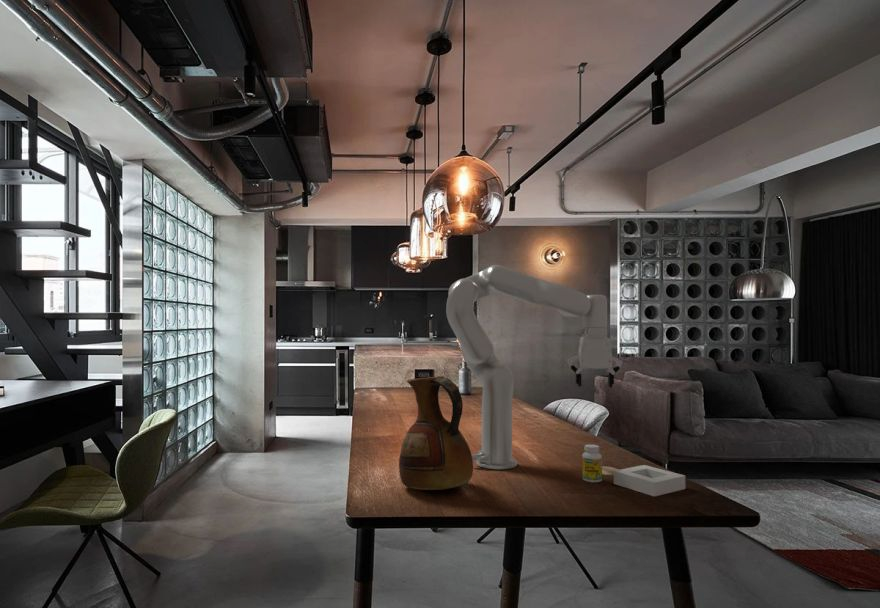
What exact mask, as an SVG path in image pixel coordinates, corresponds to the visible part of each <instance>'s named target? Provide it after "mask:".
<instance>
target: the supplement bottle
mask: <svg viewBox="0 0 880 608" xmlns="http://www.w3.org/2000/svg"><path fill="white" fill-rule="evenodd" d="M584 451H585V452H583V453H582V455H581V457H582V458H581V460H582V465H581V466H582V471H581V472H582V476H581V477H582V480H583V481H585V482H588V483H600V482H602V481H603V475H602V466H603V456H602V454H601V453H599V452H600V446H599V445H597V444H585V445H584Z"/></svg>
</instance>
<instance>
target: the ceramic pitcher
mask: <svg viewBox="0 0 880 608" xmlns="http://www.w3.org/2000/svg"><path fill="white" fill-rule="evenodd" d="M406 382H407V383H408V385H409V386H410V387H411V388H412V390H413V391H414V395H415V399H416V400H415V401H416V405H417V416H416V417H417V418H416V420H415V421H414V423H413V424H412V425H411V426H410V427H409V428H408V430H407V431H406V433H405V436H404V438H403V440H402V444H401V448H400V454H399V459H398V470H399V471H398V472H399V478H400V480H401V484H403V486H404V487H407V488H410V489H415V490H421V491H422V490H423V491H443V490H449V489H453V488H457V487H463V486H467V485H468V484H469V482H470V481H471V479H472V477H473V474H474V473H473V472H474V461H473V460H472V452H471V449H470V445H469V444H468V442H467V441H466V438H465V437H464V435H463V434H462V432H461V430H460V429H459V427H460V423H461V418H462V415H463V409H464V408H463V407H464V405H463V398H462V395H461V392H460V390H459V387H458V386H457V384H455V383H454V382H453V381H452V380H451V379H449V378H447V377H445V376H443V375H442V376H439V375H437V376H434V377H433V376H429V377H419V378H410V379H408V380H406ZM440 388H443V389H444V390H445V391H446V393H447V394H448V396H449V398H450V401H451V403H452V407H451V408H452V414H451V420H450V421H449V420H447V419H445V417H444V415H443V414H442V411H441V407H440V401H439V391H440Z"/></svg>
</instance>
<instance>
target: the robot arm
mask: <svg viewBox="0 0 880 608" xmlns="http://www.w3.org/2000/svg"><path fill="white" fill-rule="evenodd" d="M495 293H498V294H501V295H503V296H506V297H509V298H512V299H515V300H518V301H520V302H523V303H526V304H530V305H536V306H537V305H538V306H544V307H545V306H546V307H550V308H553V309H557V311H558V313H559V314H560V315H562V317H563V316H564V317H566V318H574V317H575V318H578V317H582V327H581V328H579V329H577V332H578V334H581V335H582V337H580V340H579V343H578V344H579V345H578V354H576V355H575V356H572V357H570V358H568V359H567V364H568V366H569V368H570V369H571V370H572V371H573V372H574V373H575V384H576V385H577V387H580V388H581V387H582V374H581V372H582V371H583V370H584V369H597V370H598V369H599V370H603V369H604V370H607V372H608V374H607V387H608V388H613V386H614V384H615V375H616V373H617V372H618V371H619V370H621V367H622V365H623V363H624V361H623V360H621V359H619V358H617V357H616V356H613V353H612V350H613V349H612V342H611V338H610V337H608V298H607V297H606V295H604V294H585V293H583V292H581V291H579V290H576V289H573V288H571V287H568V286H566V285H561V284H558V283H555V282H551V281H548V280H545V279H542V278H538V277H534V276H532V275H529V274H526V273H523V272H521V271H518V270H515V269H512V268H509V267H507V266H504V265H502V264H501V265H500V264H493V265H490V266H489V267H487V268H485V269H483V270H481V271H479V272H476V273H474V274H472V275H470V276H467V277H465V278H460V279H458V280H456V281H454V282H453V283H452V284H451V285H450V286H449V288H448V293H447V294H448V297H447V300H446V307H445V308H446V309H445V313H446V319H447V321H448V324H449V326H450V327H451V330H452V331H453V333H454V335H455V337H456V339H457V340H458V343H459V344H460V354H461V355H462V358H463V359H464V361H465V363H466V364H467V366H468V367H469V369H470V371H471V373H472V374H473V376H474V378H475V379H476V381H477V382H478V384H479V385H480V386H481V387H482V394H481V395H482V396H481V449H478V452H477V453H476V454H475V453H474V454H472V453H471V455H472V460H473V462H476V465H477V466H479V467H481V468H483V469H488V470H489V469H490V470H509V469H514V468H516V467H517V465H518V462H517V460H516V459H514V458H513V396H514V387H515V379H514V374H513V372H512V370H511V368H509V366H507V365H506V364H504V363H501V362H500V361H499V359H498V358H497V356H496V355H495V353H494V352H495V349H494V348H495V347H494V345H493V342H492V340H491V339H490V338H489V335H488V334H487V333H486V331H485V329H483V326H482V325H481V323H480V322H479V320H478V318H477V315H476V313H475V311H474V310H475V309H474V304H475V302H476V301H479V300H483V299H484V298H486V297H489V296H491V295H492V294H495ZM575 361H577V364H578V366H577V367H576V366H575V365H574V362H575ZM613 362H615V363H616V365H615V366H614V367H613ZM612 367H613V368H612Z"/></svg>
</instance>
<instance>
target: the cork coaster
mask: <svg viewBox="0 0 880 608" xmlns="http://www.w3.org/2000/svg"><path fill="white" fill-rule="evenodd" d="M616 470H620V469H618V468H616V467H612V466H604V465H602V476H614V471H616Z"/></svg>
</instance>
